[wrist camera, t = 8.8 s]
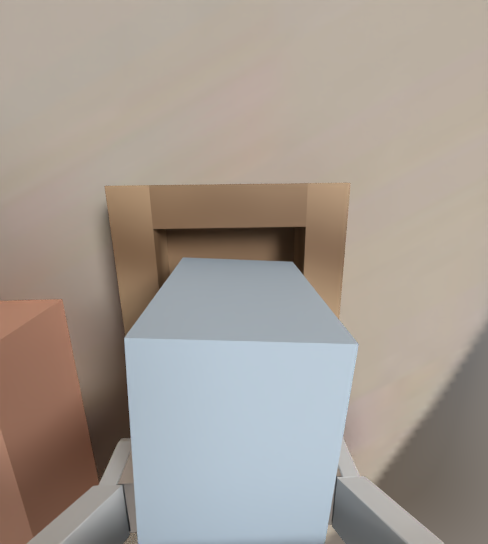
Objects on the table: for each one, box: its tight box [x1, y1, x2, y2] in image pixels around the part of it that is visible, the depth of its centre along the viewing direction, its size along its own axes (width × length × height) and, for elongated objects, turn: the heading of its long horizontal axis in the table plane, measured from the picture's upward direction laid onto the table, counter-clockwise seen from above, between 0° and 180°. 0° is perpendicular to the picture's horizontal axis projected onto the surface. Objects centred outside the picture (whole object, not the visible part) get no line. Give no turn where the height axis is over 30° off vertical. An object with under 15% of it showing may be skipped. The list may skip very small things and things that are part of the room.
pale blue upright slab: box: [124, 257, 359, 544], centre depth 10 cm, size 12×4×6 cm, turn 177°
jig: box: [105, 183, 350, 336], centre depth 14 cm, size 16×8×3 cm, turn 1°
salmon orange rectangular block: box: [0, 299, 99, 544], centre depth 13 cm, size 12×4×5 cm, turn 1°
